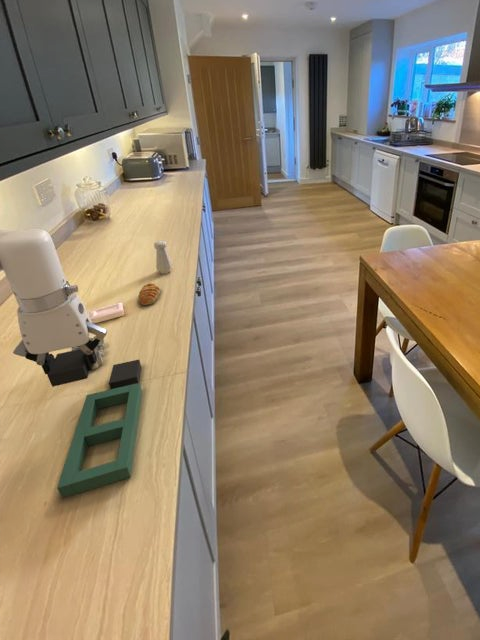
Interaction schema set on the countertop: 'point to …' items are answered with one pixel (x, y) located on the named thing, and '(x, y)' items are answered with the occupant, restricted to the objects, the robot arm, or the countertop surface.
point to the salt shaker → (162, 258)
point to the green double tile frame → (91, 435)
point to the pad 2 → (125, 374)
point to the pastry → (149, 293)
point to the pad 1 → (68, 368)
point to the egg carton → (98, 353)
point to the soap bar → (106, 313)
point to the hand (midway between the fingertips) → (73, 369)
